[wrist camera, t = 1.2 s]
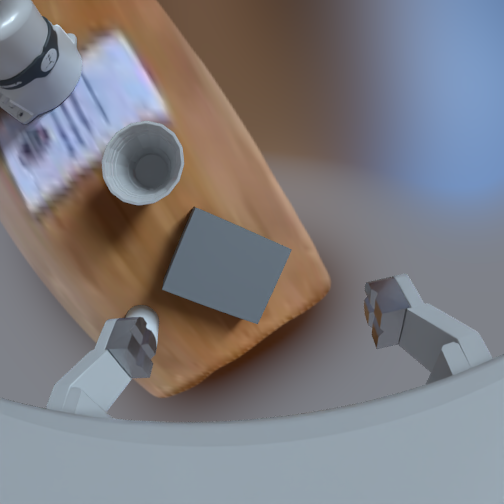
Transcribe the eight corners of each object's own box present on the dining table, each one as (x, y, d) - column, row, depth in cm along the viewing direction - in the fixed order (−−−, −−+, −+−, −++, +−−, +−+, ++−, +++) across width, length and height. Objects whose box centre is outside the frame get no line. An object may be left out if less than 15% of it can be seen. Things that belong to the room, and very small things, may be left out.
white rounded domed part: (121, 329, 49) (113, 353, 40) (131, 299, 49) (123, 319, 40) (153, 341, 51) (150, 366, 42) (163, 312, 50) (162, 333, 42)
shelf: (163, 279, 49) (162, 289, 44) (193, 206, 49) (195, 207, 43) (249, 311, 54) (257, 324, 48) (279, 244, 53) (291, 249, 47)
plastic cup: (110, 152, 44) (91, 138, 32) (172, 130, 46) (170, 109, 34) (129, 214, 46) (114, 218, 35) (191, 191, 48) (195, 188, 37)
